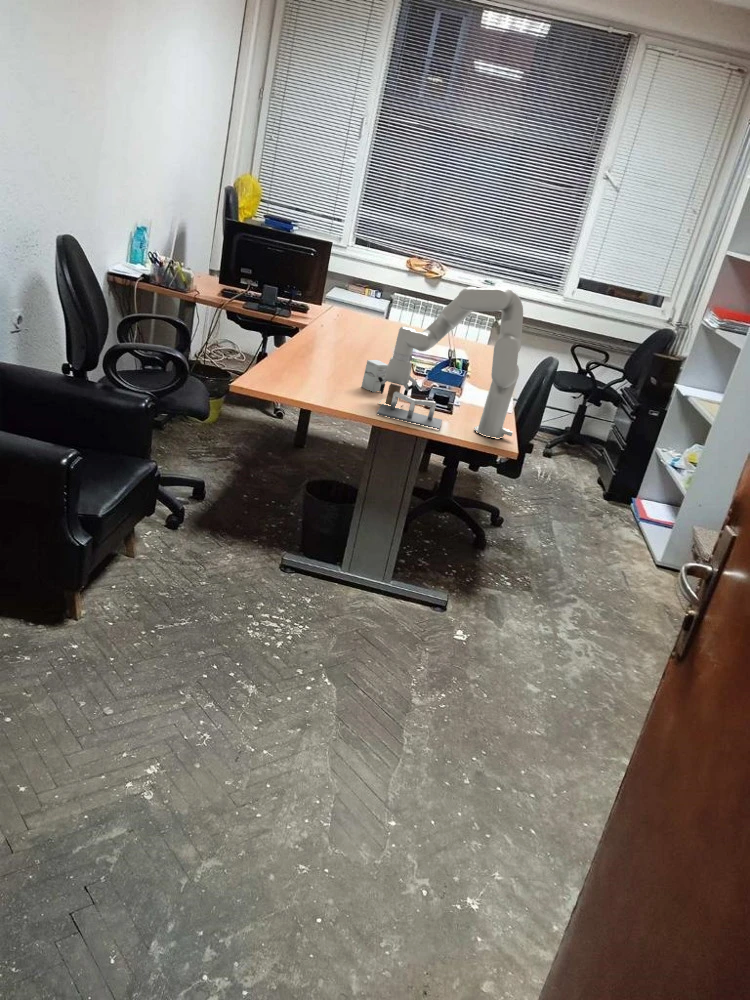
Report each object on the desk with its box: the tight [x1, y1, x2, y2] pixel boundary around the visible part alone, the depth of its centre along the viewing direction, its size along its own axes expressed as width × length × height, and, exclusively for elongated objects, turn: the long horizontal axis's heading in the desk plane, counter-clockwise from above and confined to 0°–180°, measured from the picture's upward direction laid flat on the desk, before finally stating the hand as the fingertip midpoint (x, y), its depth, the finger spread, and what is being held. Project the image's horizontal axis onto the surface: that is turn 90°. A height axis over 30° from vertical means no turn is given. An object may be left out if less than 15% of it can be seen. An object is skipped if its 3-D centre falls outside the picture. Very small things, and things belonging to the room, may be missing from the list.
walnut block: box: [385, 382, 402, 405], centre depth 321 cm, size 4×4×8 cm
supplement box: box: [361, 359, 388, 393], centre depth 336 cm, size 7×7×13 cm
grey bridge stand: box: [390, 392, 437, 420], centre depth 308 cm, size 18×7×8 cm, turn 81°
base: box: [376, 404, 443, 430], centre depth 310 cm, size 26×13×1 cm, turn 81°
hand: (392, 396), depth 322 cm, fingers open, 9 cm apart
